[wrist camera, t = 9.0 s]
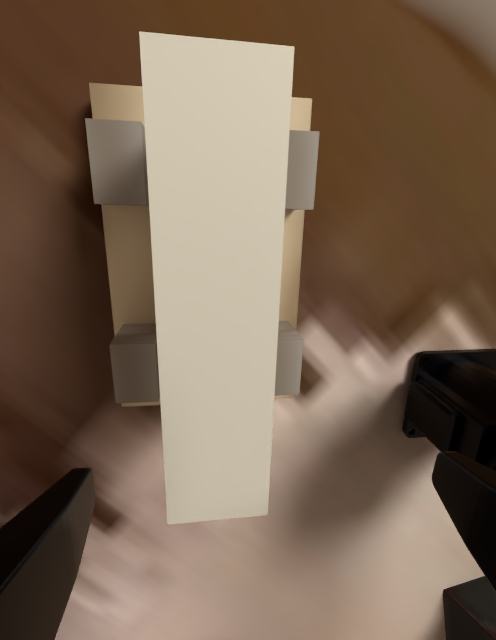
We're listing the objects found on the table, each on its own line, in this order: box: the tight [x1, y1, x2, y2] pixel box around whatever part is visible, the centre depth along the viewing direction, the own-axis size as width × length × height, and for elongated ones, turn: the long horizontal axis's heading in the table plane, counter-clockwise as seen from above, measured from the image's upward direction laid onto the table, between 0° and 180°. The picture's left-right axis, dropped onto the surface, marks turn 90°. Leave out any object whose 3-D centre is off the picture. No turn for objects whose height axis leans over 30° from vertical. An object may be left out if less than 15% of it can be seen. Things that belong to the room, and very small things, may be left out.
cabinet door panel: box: [139, 32, 294, 525], centre depth 13 cm, size 3×12×10 cm, turn 178°
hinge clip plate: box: [85, 83, 319, 407], centre depth 17 cm, size 10×16×4 cm, turn 179°
